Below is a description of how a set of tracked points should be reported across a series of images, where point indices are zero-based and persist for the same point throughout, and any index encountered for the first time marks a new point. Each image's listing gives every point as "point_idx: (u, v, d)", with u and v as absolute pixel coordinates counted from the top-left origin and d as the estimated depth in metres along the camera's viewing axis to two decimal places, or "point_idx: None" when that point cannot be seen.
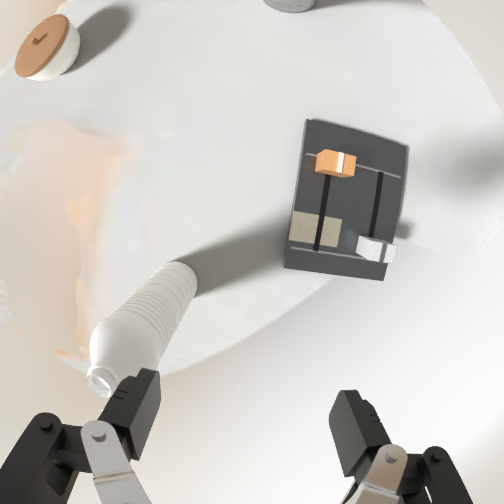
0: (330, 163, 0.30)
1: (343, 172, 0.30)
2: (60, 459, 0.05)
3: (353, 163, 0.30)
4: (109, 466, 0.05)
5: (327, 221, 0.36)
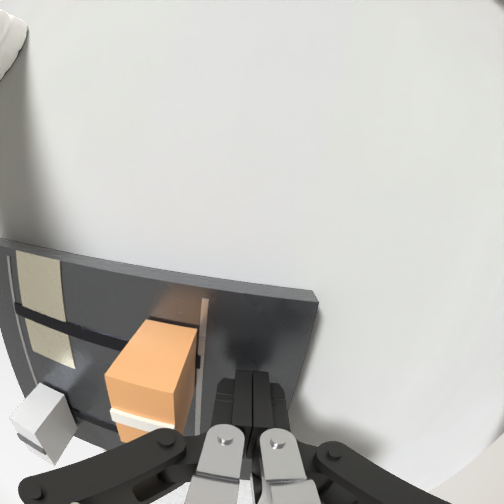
0: (129, 398, 0.08)
1: (118, 422, 0.08)
2: (163, 473, 0.06)
3: None
4: (218, 468, 0.06)
5: (62, 338, 0.12)
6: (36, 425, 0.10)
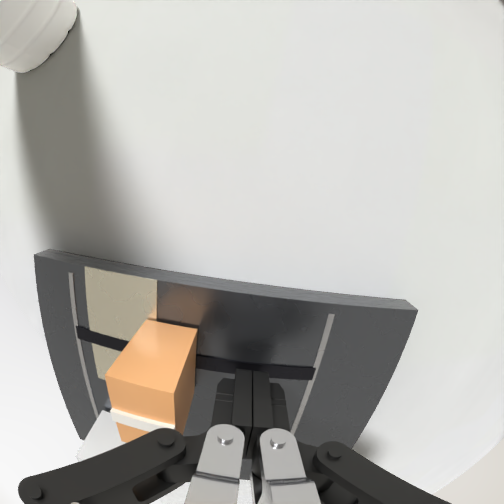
0: (129, 398, 0.08)
1: (119, 422, 0.08)
2: (163, 473, 0.06)
3: None
4: (218, 468, 0.06)
5: None
6: None
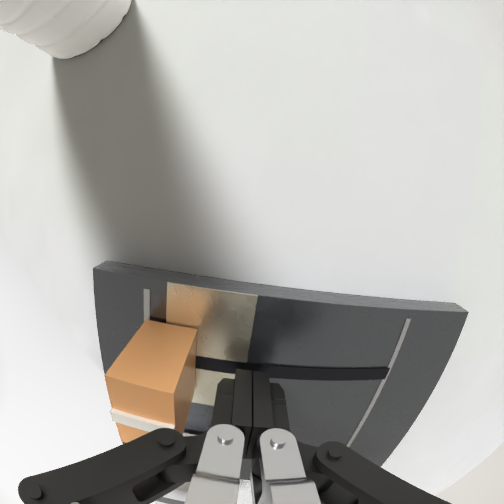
0: (129, 398, 0.08)
1: (118, 423, 0.08)
2: (163, 473, 0.06)
3: None
4: (218, 468, 0.06)
5: None
6: None
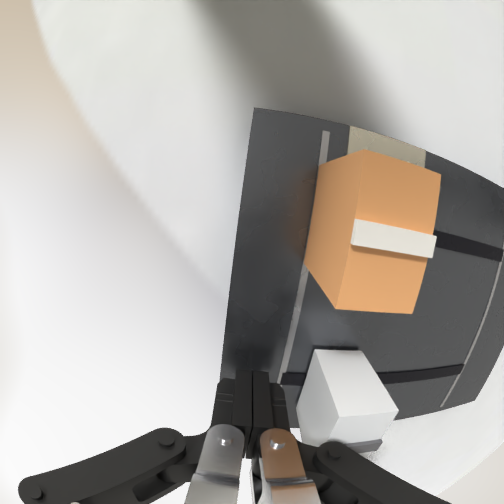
0: (391, 189, 0.06)
1: (352, 256, 0.06)
2: (163, 473, 0.06)
3: (388, 303, 0.07)
4: (218, 468, 0.06)
5: None
6: (386, 399, 0.08)
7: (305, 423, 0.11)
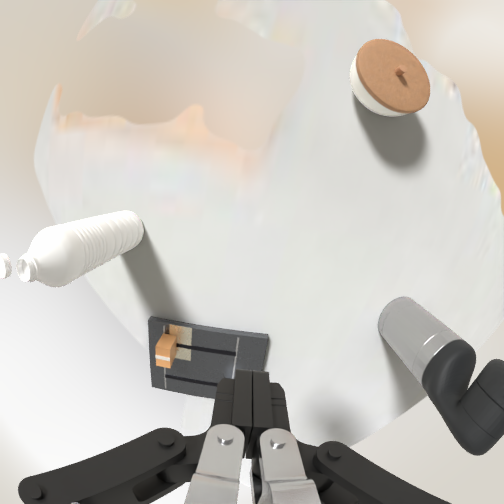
0: (160, 351, 0.40)
1: (156, 359, 0.41)
2: (163, 473, 0.06)
3: (164, 366, 0.41)
4: (218, 468, 0.06)
5: (187, 350, 0.45)
6: None
7: None
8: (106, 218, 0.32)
